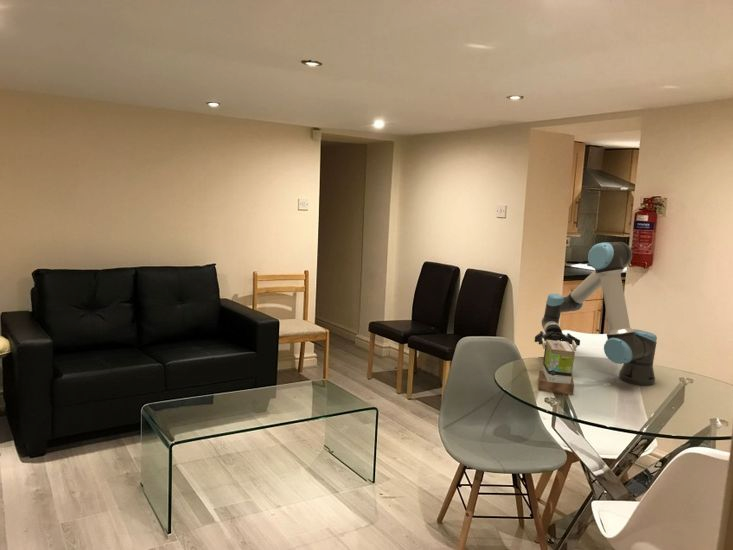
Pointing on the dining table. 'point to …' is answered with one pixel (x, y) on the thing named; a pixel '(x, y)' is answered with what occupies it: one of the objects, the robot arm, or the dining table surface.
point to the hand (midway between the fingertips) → (559, 347)
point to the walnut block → (555, 385)
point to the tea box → (558, 361)
